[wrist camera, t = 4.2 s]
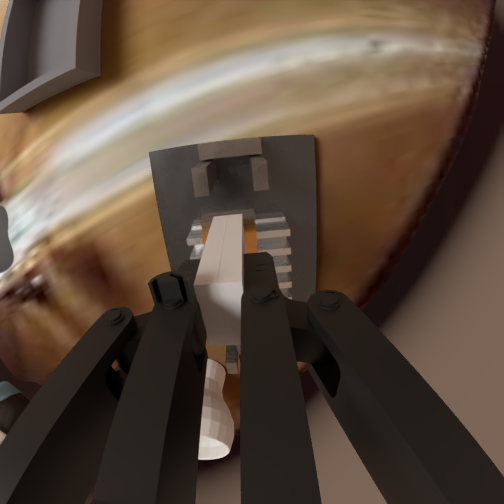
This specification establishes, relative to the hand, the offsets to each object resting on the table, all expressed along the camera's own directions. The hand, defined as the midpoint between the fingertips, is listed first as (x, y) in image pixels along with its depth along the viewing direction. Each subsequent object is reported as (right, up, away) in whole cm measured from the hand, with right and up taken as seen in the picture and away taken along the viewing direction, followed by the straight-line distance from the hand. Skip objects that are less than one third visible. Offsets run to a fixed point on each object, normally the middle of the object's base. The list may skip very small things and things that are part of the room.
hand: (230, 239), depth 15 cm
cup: (-7, -21, +28) cm, 36 cm away
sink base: (0, 0, +19) cm, 19 cm away
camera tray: (-25, +29, +4) cm, 39 cm away
